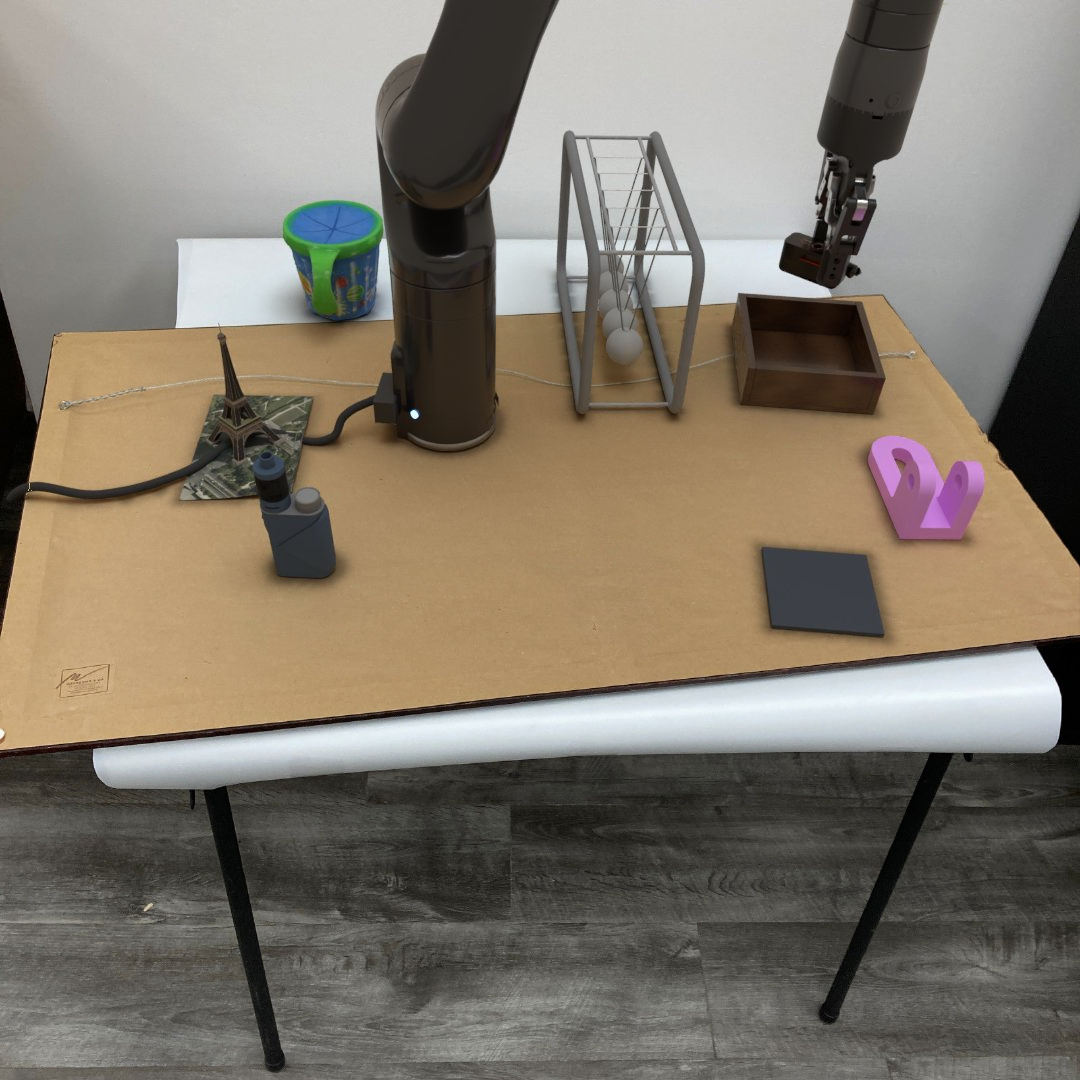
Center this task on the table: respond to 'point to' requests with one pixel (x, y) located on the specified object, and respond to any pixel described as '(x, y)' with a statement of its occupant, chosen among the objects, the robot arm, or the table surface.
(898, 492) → the bracket
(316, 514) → the vaping device
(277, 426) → the eiffel tower figurine
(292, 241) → the snack cup
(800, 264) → the black electronic gadget
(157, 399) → the table surface
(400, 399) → the robot arm
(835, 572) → the pad
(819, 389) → the wooden box
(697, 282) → the newton's cradle
